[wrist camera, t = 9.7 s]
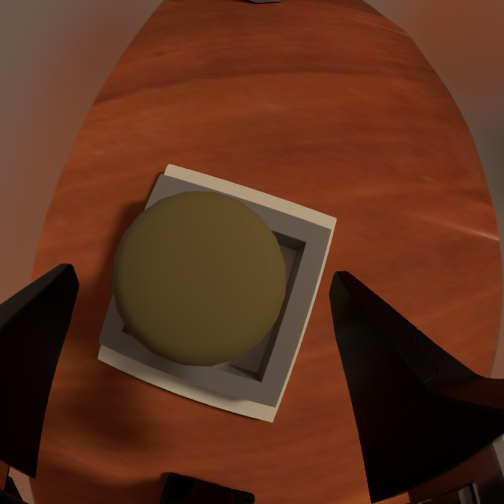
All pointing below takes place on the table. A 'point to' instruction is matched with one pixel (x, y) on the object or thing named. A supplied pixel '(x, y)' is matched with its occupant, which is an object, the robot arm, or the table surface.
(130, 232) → the cork
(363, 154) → the table surface
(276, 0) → the flask
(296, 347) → the socket
